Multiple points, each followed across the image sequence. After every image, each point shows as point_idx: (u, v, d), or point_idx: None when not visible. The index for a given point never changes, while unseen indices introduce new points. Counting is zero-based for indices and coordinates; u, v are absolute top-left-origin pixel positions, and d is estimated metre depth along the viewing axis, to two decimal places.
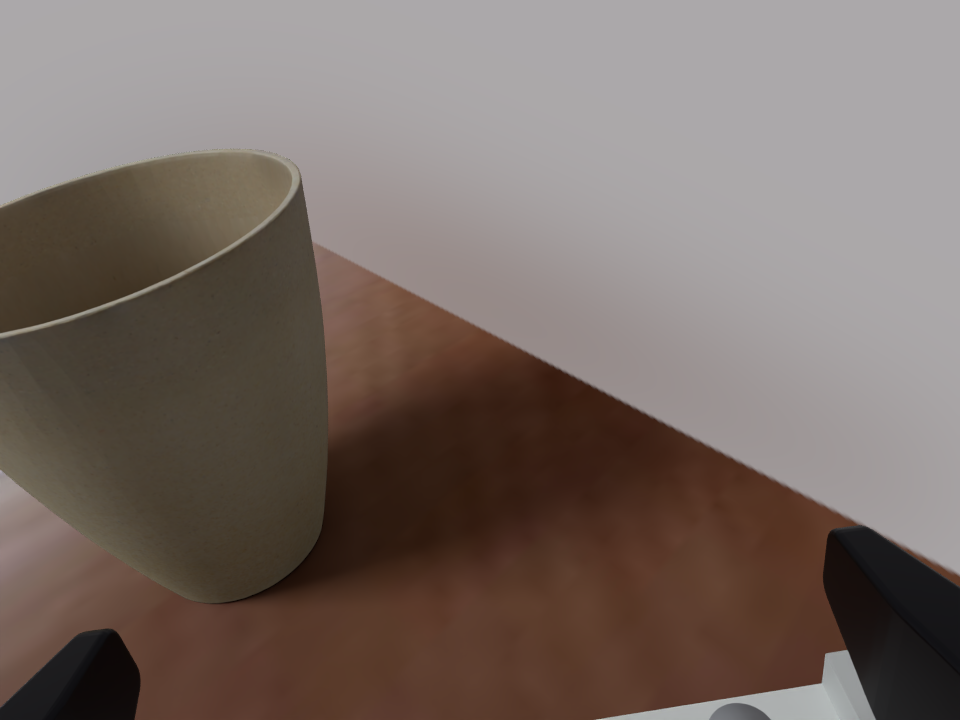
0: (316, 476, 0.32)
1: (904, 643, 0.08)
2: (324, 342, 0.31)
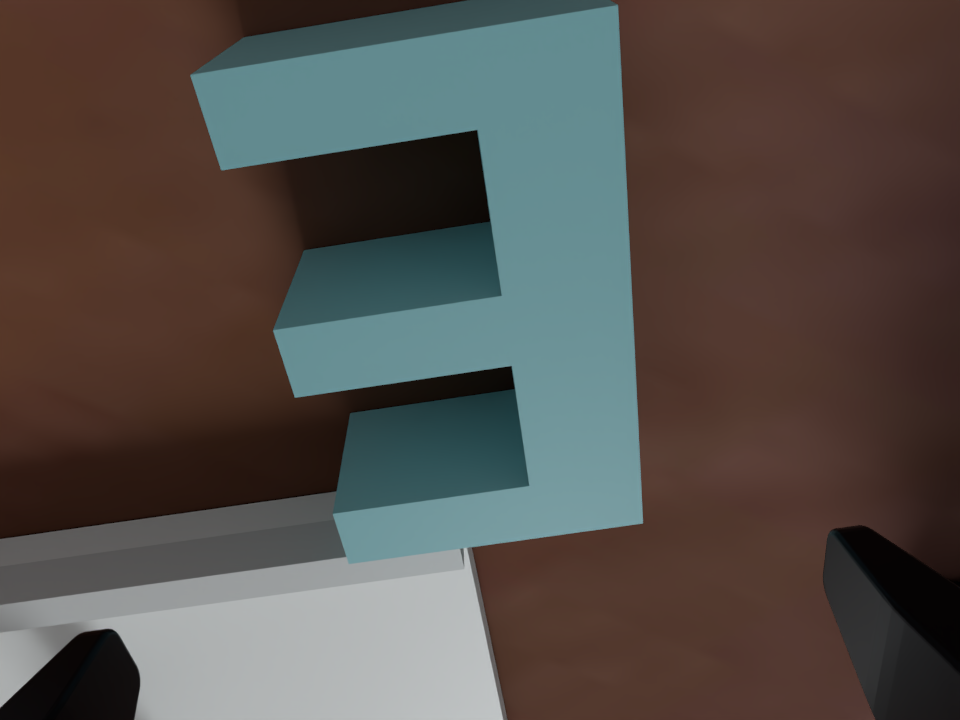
0: None
1: (904, 643, 0.08)
2: None
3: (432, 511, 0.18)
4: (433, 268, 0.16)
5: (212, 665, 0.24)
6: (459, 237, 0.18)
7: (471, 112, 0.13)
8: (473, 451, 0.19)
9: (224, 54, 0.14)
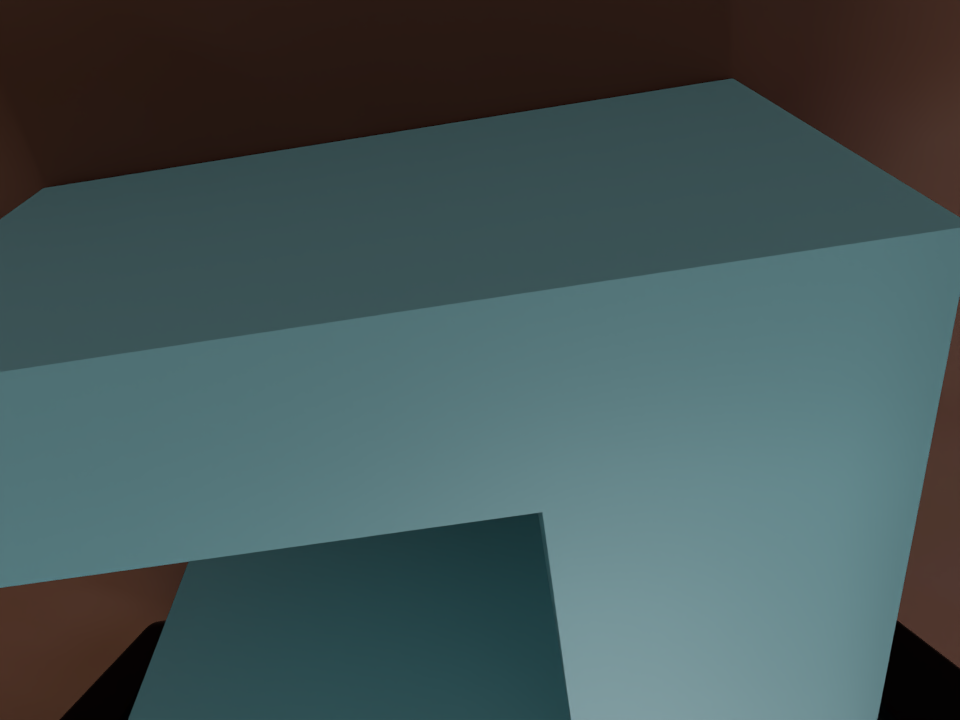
0: None
1: None
2: None
3: None
4: (428, 637, 0.08)
5: None
6: (480, 532, 0.10)
7: (527, 477, 0.05)
8: None
9: None
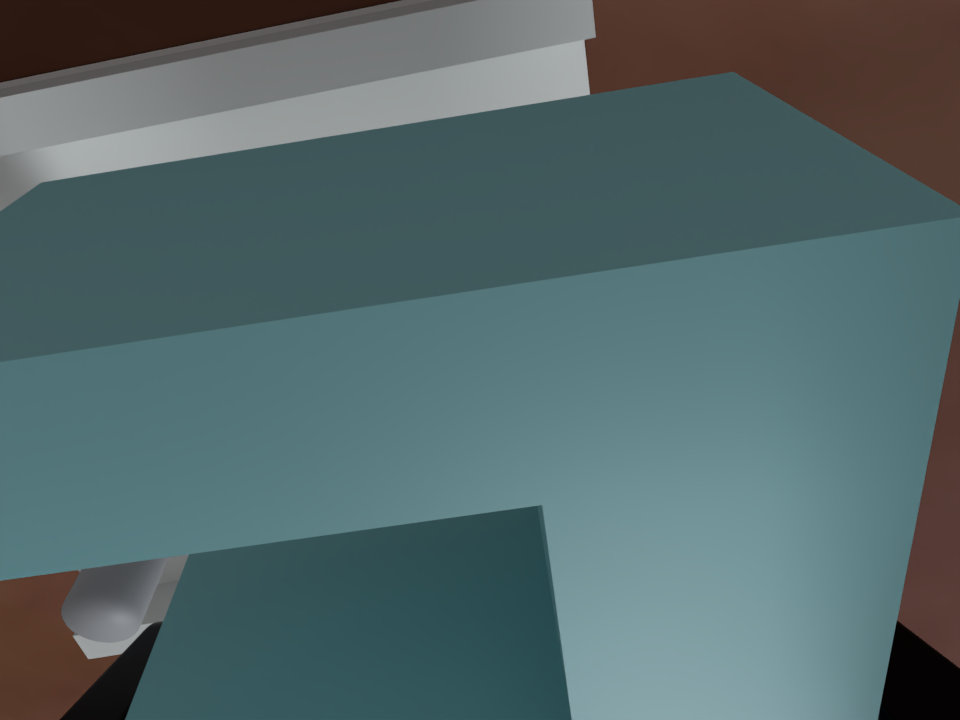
0: None
1: None
2: None
3: None
4: (428, 633, 0.08)
5: None
6: (479, 528, 0.10)
7: (527, 470, 0.05)
8: None
9: None
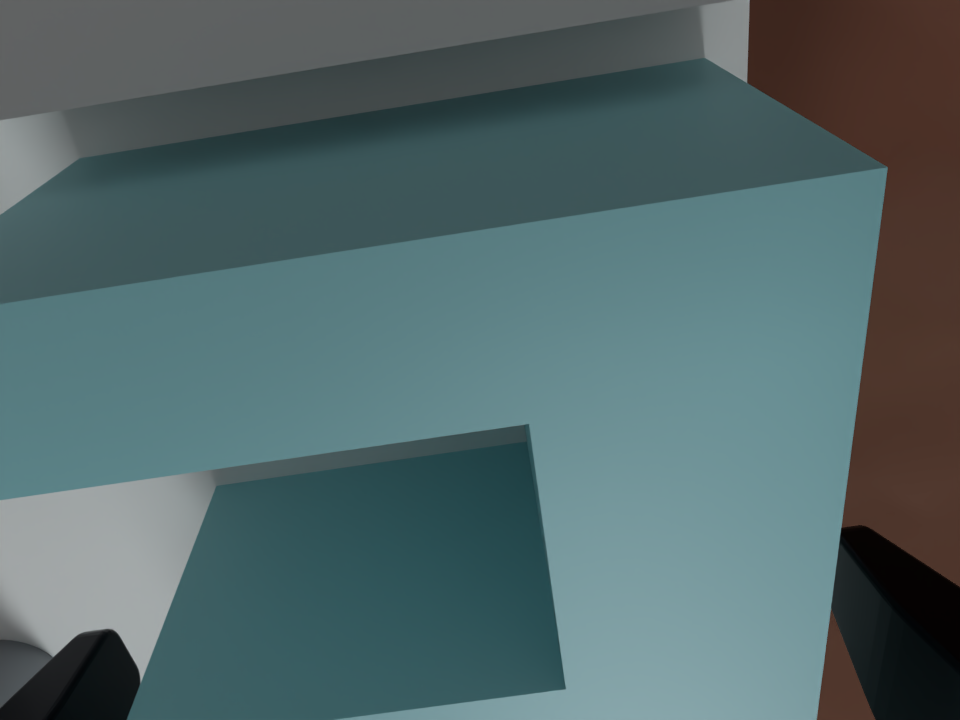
0: None
1: (904, 643, 0.08)
2: None
3: None
4: (429, 569, 0.09)
5: None
6: (477, 480, 0.10)
7: (515, 392, 0.06)
8: None
9: None
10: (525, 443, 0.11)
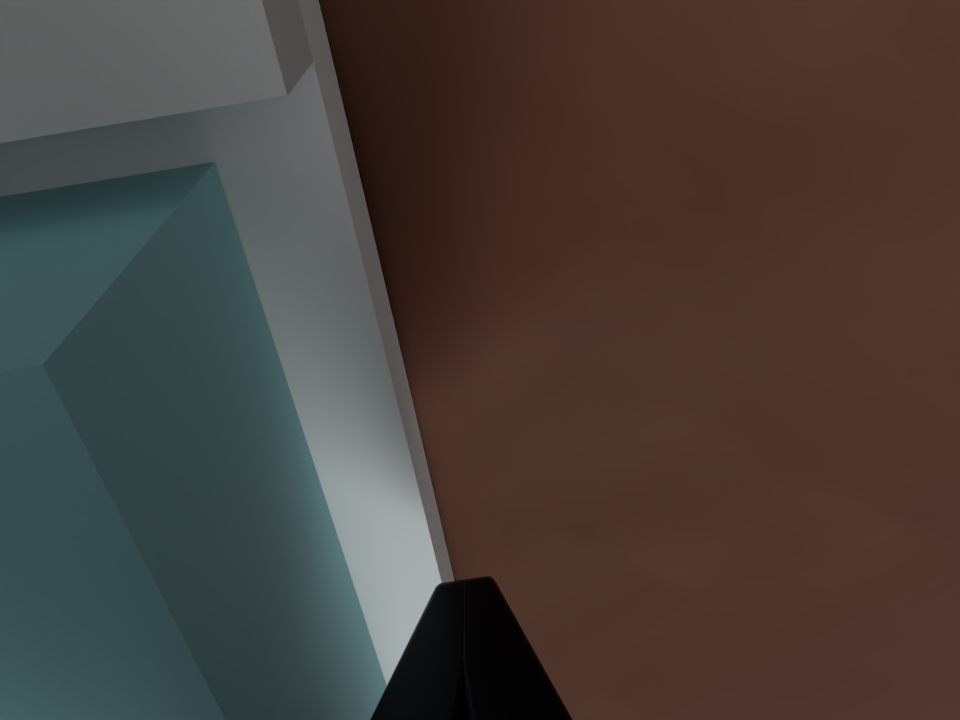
0: None
1: None
2: None
3: None
4: None
5: None
6: None
7: None
8: None
9: None
10: None
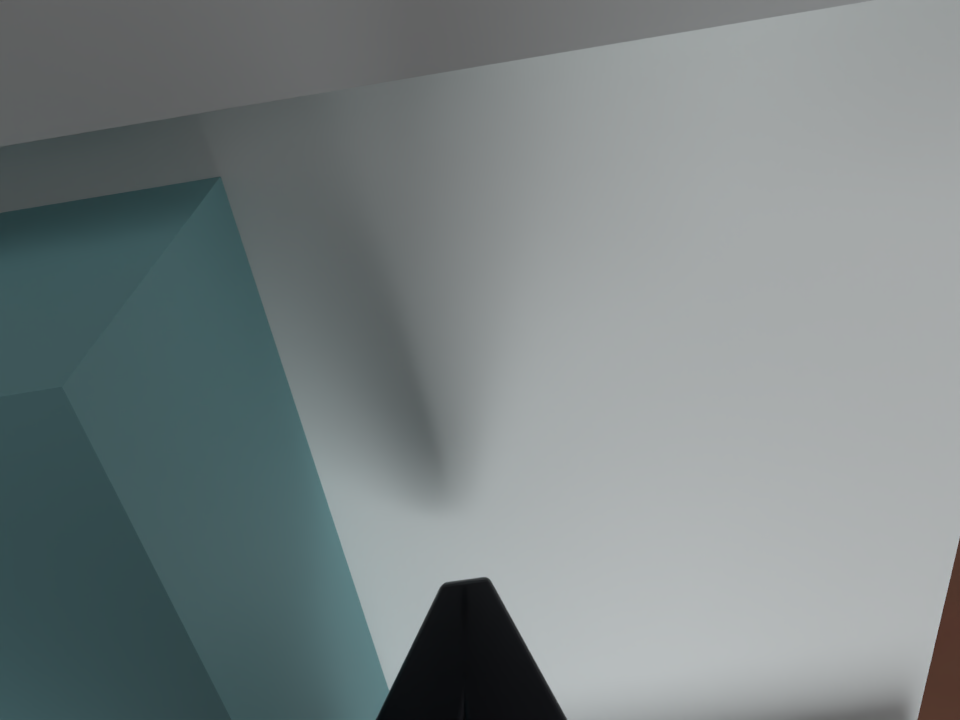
0: None
1: None
2: None
3: None
4: None
5: (314, 431, 0.10)
6: None
7: None
8: None
9: None
10: None
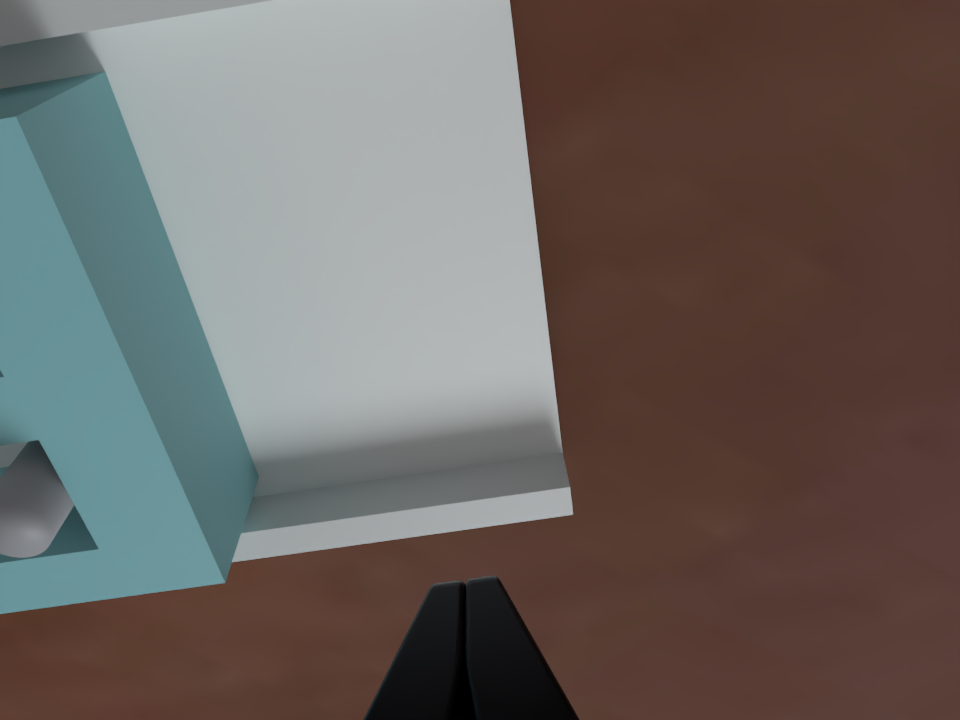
0: None
1: None
2: None
3: (12, 572, 0.18)
4: None
5: (165, 215, 0.18)
6: None
7: None
8: (75, 511, 0.19)
9: None
10: None
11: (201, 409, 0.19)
